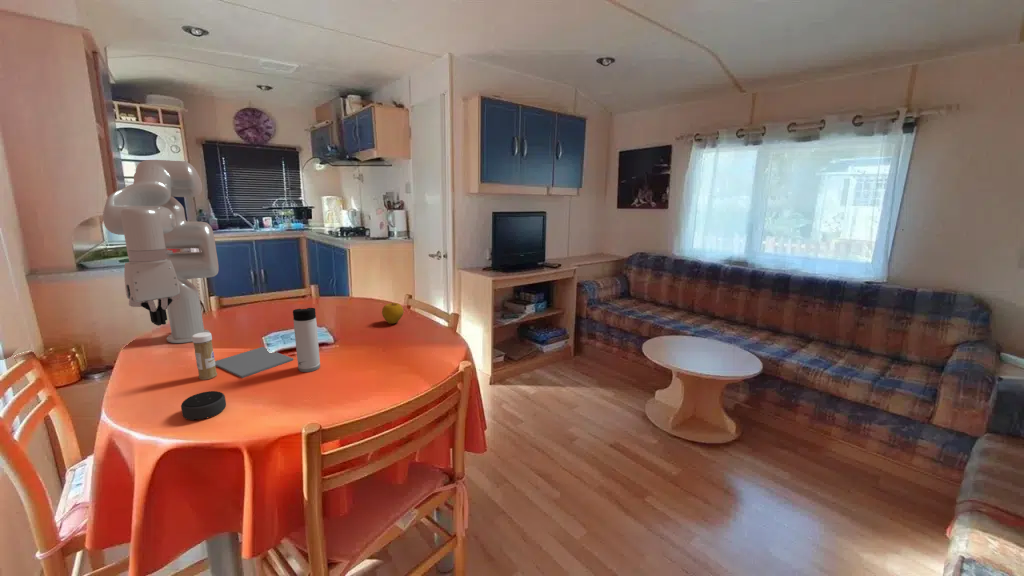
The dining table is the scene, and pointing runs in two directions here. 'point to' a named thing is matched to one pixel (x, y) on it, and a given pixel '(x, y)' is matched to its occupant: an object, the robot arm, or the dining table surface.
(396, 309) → the apple
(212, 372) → the sprinkles bottle
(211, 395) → the smart speaker
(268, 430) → the dining table surface
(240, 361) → the rubber mat
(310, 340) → the travel mug
